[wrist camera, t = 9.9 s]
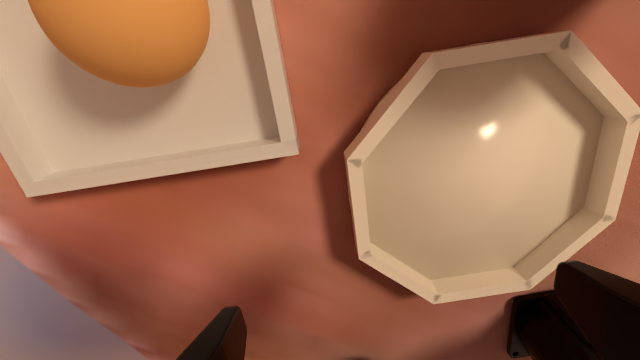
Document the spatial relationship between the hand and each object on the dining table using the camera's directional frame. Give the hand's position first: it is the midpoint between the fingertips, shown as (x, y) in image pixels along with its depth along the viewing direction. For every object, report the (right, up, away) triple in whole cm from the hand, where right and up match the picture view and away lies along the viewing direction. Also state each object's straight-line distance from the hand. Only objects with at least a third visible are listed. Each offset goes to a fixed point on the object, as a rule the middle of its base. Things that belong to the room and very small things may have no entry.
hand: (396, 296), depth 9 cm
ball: (-10, +10, +3) cm, 14 cm away
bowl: (+8, +3, +11) cm, 14 cm away
